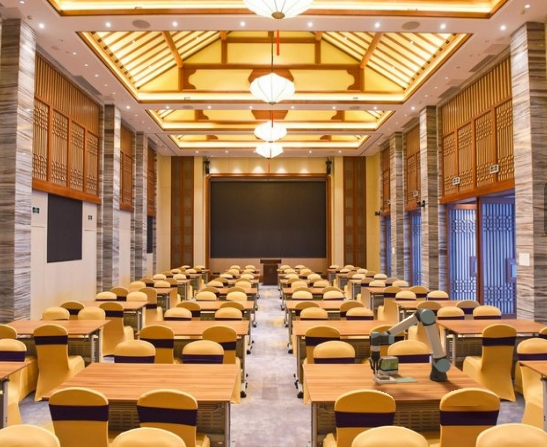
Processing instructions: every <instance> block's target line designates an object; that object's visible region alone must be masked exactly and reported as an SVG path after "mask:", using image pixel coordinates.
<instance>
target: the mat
mask: <svg viewBox="0 0 547 447" xmlns="http://www.w3.org/2000/svg"><path fill="white" fill-rule="evenodd" d="M393 378H394V379H395V380H397V383H398V384H400V383H401V384H403V383H418V381H417V379H414V378H412V377H411V376H403V377H402V376H401V377H400V376H399V377H393ZM397 383H396V384H397Z"/></svg>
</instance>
